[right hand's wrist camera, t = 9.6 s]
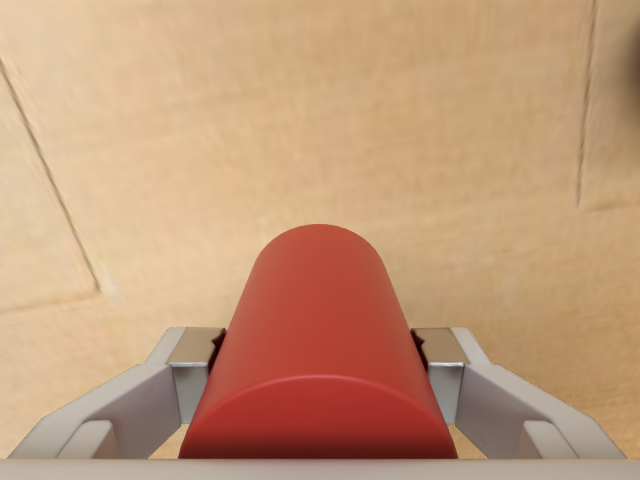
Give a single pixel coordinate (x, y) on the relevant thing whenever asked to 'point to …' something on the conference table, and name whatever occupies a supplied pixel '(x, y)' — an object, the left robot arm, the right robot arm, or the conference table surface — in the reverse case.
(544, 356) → the conference table surface
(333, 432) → the canister
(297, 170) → the conference table surface
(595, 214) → the conference table surface
